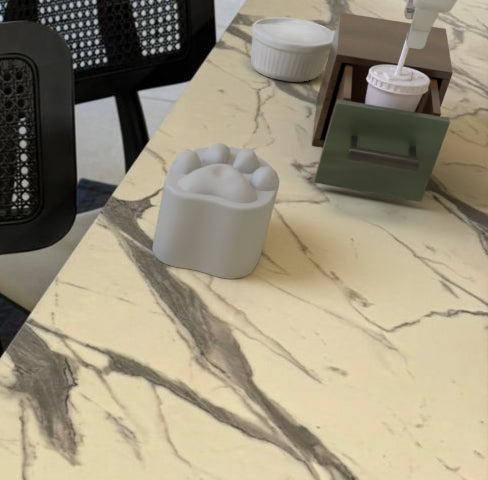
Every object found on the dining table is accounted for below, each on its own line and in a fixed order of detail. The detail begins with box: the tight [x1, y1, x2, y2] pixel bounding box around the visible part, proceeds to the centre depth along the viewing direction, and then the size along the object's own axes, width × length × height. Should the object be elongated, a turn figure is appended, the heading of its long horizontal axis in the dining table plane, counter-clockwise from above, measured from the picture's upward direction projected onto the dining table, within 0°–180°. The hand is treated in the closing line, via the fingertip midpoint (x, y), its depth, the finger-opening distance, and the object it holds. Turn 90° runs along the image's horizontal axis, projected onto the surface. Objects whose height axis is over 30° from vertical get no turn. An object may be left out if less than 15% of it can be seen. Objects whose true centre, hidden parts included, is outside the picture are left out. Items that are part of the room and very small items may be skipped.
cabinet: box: [311, 12, 454, 148], centre depth 122 cm, size 16×13×11 cm
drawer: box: [313, 63, 451, 203], centre depth 111 cm, size 19×11×9 cm, turn 165°
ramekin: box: [250, 16, 335, 83], centre depth 137 cm, size 11×11×5 cm
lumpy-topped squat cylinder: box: [152, 142, 280, 280], centre depth 99 cm, size 10×13×9 cm
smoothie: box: [365, 34, 430, 112], centre depth 109 cm, size 6×6×14 cm
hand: (413, 31), depth 105 cm, fingers open, 8 cm apart
